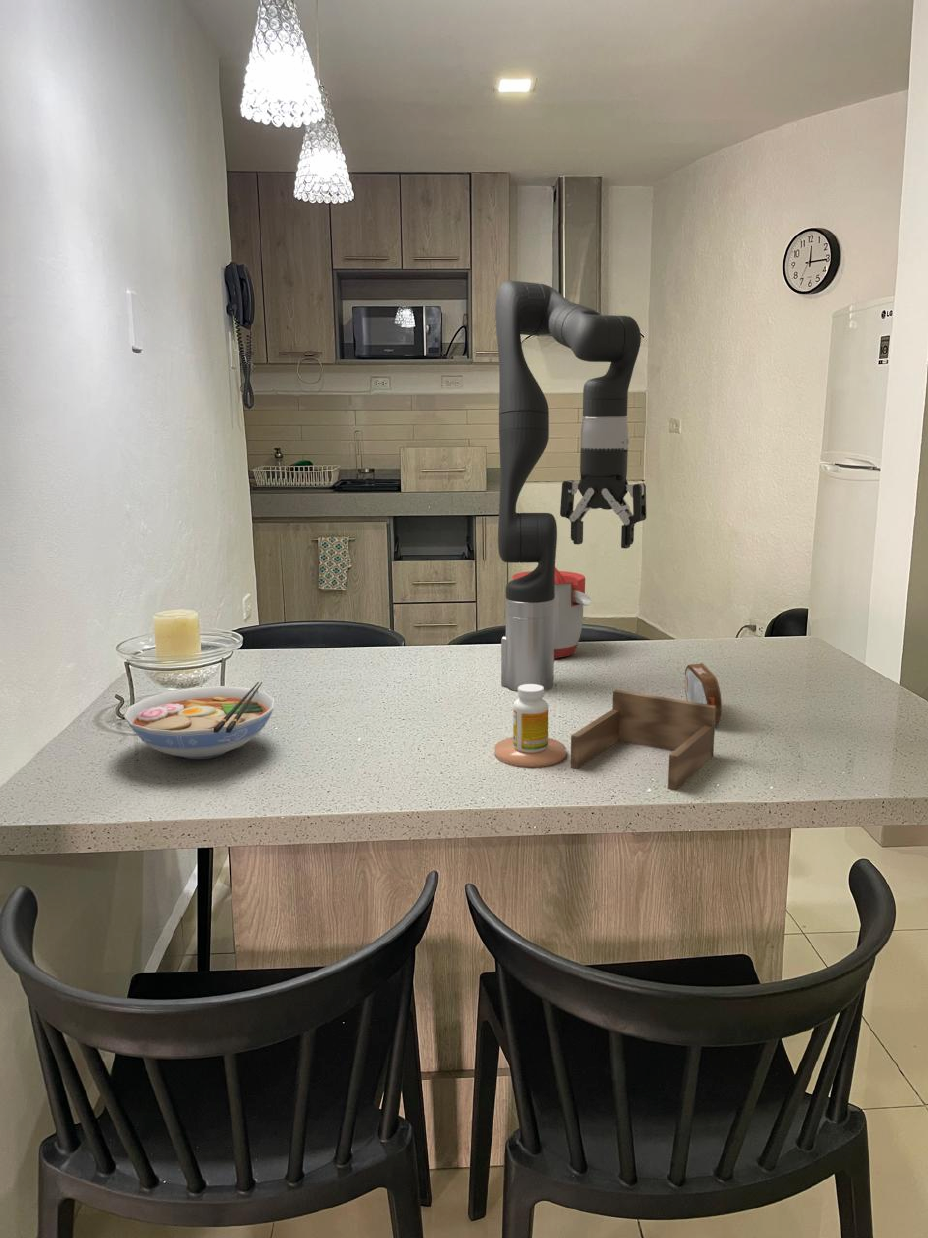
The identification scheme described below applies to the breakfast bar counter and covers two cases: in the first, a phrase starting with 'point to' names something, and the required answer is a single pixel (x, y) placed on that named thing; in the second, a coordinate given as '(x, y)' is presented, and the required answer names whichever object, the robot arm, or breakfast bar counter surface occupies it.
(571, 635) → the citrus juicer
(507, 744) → the coaster
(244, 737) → the ramen bowl
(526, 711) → the supplement bottle
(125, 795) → the breakfast bar counter surface
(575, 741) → the cubby
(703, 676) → the tin
